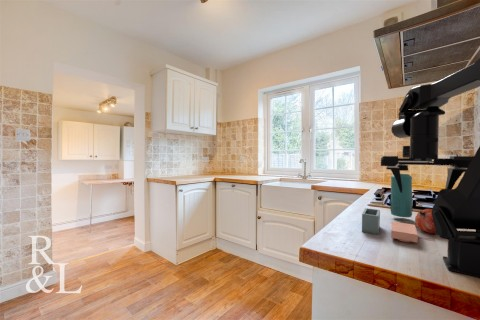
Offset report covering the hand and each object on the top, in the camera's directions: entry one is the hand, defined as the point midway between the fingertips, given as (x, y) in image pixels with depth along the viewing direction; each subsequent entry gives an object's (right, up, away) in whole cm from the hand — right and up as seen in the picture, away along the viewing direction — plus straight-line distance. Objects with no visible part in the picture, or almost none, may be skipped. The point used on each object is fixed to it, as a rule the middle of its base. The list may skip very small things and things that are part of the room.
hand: (422, 194), depth 58 cm
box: (-7, -13, +11) cm, 18 cm away
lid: (-2, -12, +4) cm, 13 cm away
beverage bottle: (+10, -13, +22) cm, 28 cm away
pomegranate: (+9, -13, +9) cm, 18 cm away
